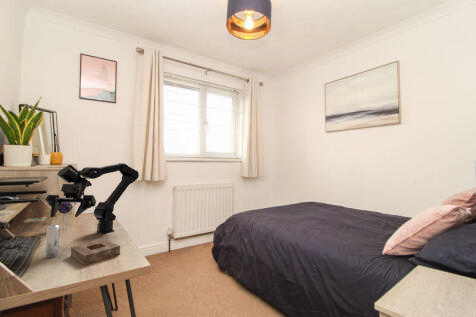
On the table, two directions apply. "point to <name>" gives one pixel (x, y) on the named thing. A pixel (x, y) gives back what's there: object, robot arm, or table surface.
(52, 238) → the translucent grey tall block
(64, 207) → the lollipop
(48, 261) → the table surface
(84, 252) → the socket block
